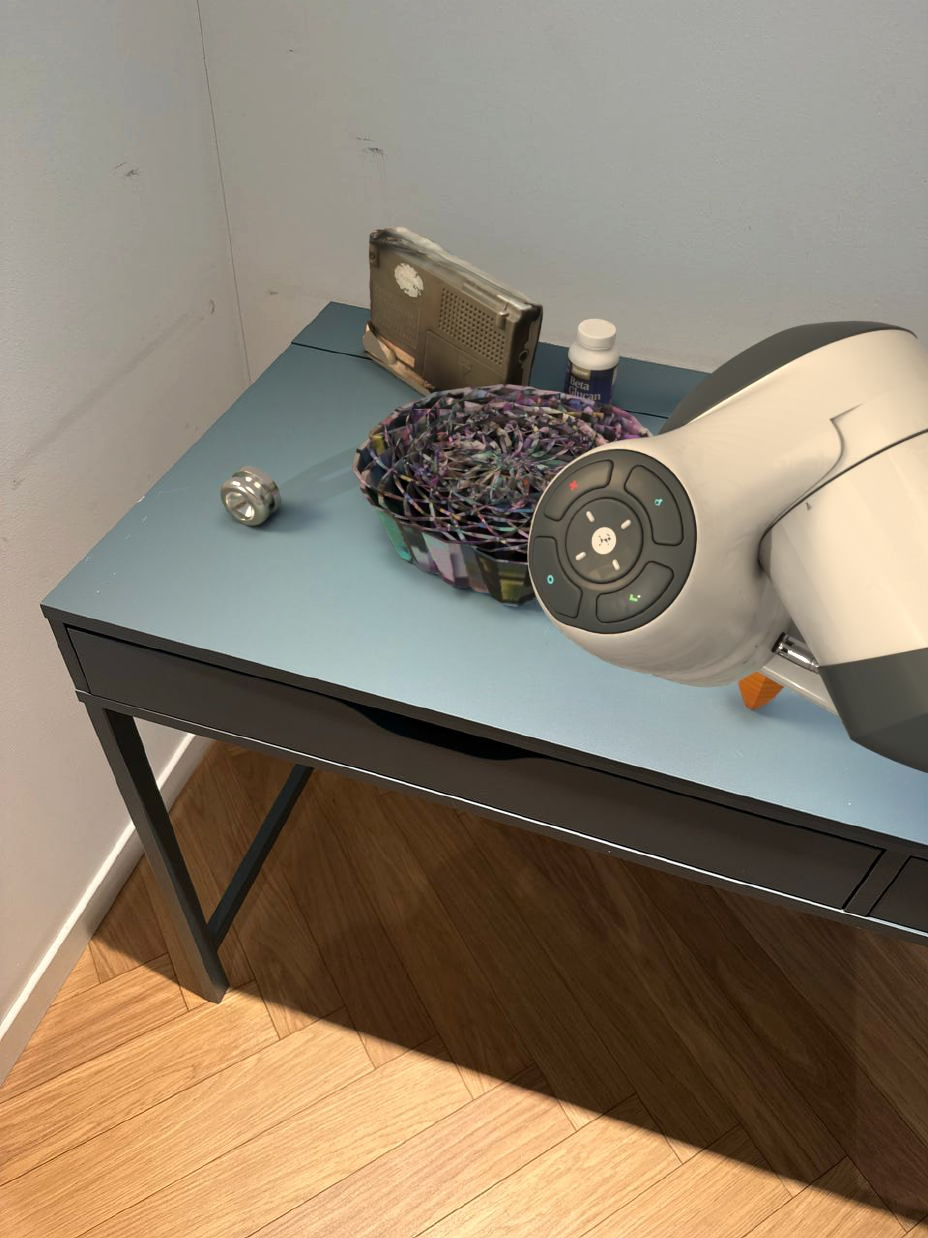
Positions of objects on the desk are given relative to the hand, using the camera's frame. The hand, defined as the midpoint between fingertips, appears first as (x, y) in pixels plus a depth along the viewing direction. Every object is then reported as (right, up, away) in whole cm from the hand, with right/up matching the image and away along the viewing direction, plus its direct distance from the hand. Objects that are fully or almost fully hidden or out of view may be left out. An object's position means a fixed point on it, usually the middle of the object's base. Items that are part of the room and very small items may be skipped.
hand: (747, 630), depth 62 cm
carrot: (+5, -6, +14) cm, 16 cm away
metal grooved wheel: (-38, +10, +29) cm, 49 cm away
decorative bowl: (-14, +9, +29) cm, 33 cm away
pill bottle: (-5, +24, +44) cm, 50 cm away
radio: (-19, +27, +47) cm, 58 cm away
